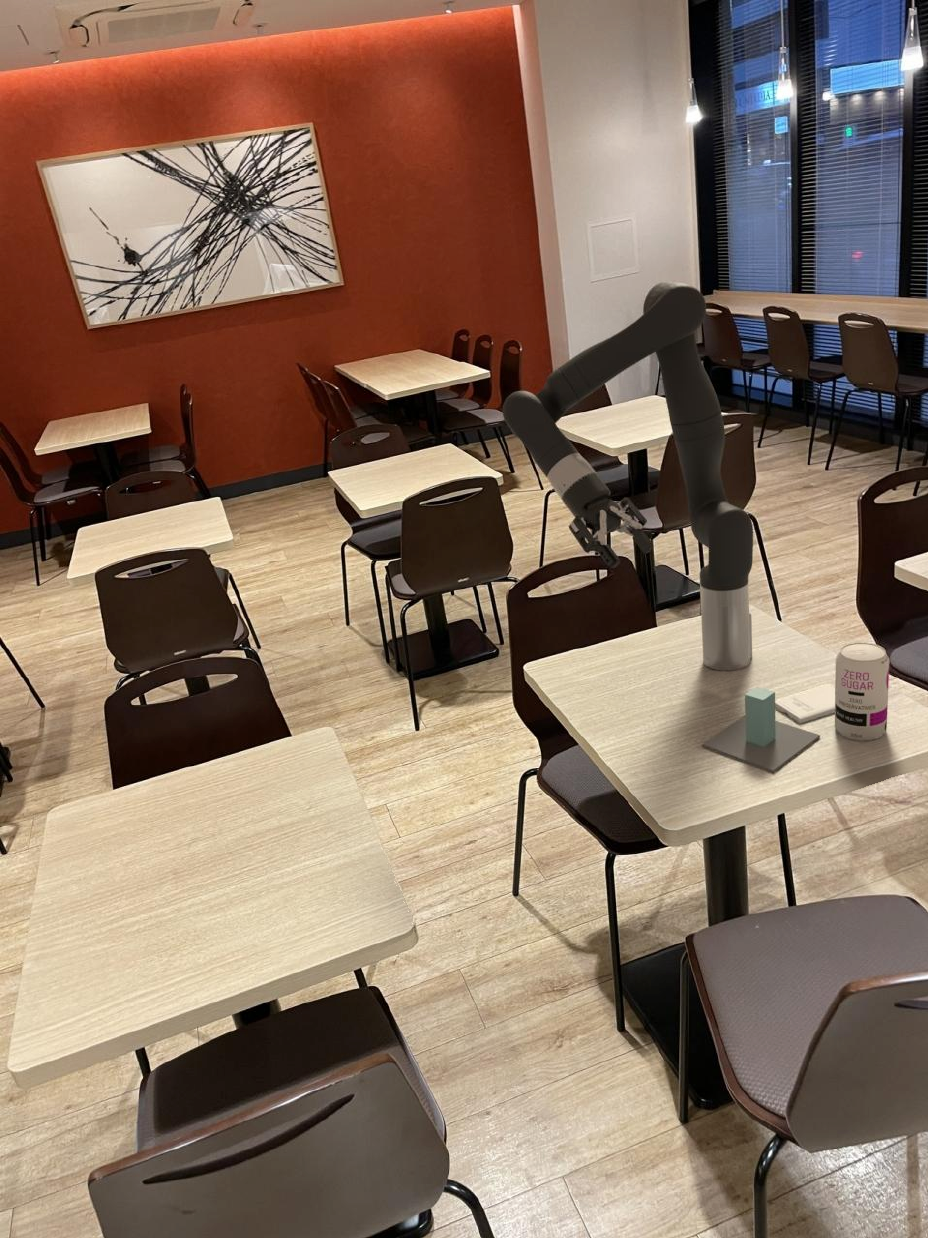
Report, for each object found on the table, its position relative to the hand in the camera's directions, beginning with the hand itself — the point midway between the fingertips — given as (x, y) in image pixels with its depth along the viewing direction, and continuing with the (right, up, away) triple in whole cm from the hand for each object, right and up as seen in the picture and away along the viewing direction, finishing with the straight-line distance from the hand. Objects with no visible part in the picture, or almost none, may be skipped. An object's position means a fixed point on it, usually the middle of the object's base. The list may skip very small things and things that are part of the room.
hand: (633, 557), depth 160 cm
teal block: (+22, -31, +1) cm, 38 cm away
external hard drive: (+35, -27, +11) cm, 45 cm away
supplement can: (+39, -30, +1) cm, 49 cm away
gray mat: (+22, -32, +2) cm, 39 cm away
